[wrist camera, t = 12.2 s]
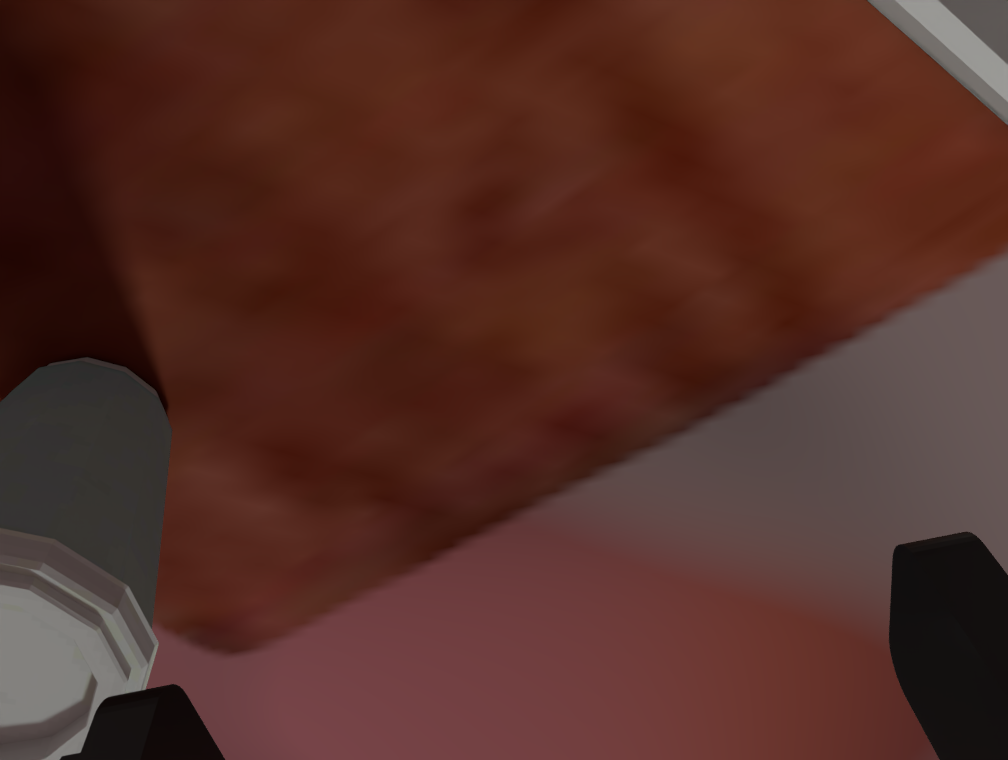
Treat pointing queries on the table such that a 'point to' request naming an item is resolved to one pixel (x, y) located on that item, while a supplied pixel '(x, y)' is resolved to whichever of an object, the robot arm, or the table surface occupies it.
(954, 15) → the walled tray
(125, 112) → the table surface
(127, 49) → the table surface
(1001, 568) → the robot arm
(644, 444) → the table surface
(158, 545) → the disposable coffee cup
